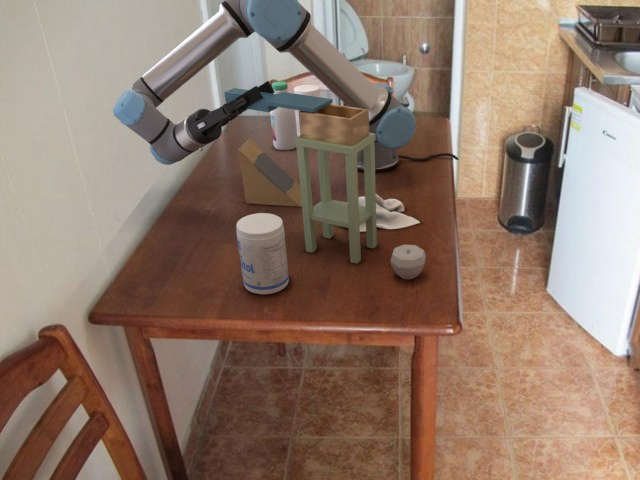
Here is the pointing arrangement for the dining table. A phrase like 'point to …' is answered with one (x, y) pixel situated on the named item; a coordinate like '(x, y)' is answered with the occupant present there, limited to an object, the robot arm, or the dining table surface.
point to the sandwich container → (266, 179)
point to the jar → (309, 91)
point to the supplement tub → (262, 253)
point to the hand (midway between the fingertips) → (264, 89)
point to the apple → (408, 261)
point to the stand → (335, 210)
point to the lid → (281, 101)
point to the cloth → (389, 214)
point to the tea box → (335, 124)
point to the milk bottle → (283, 122)
